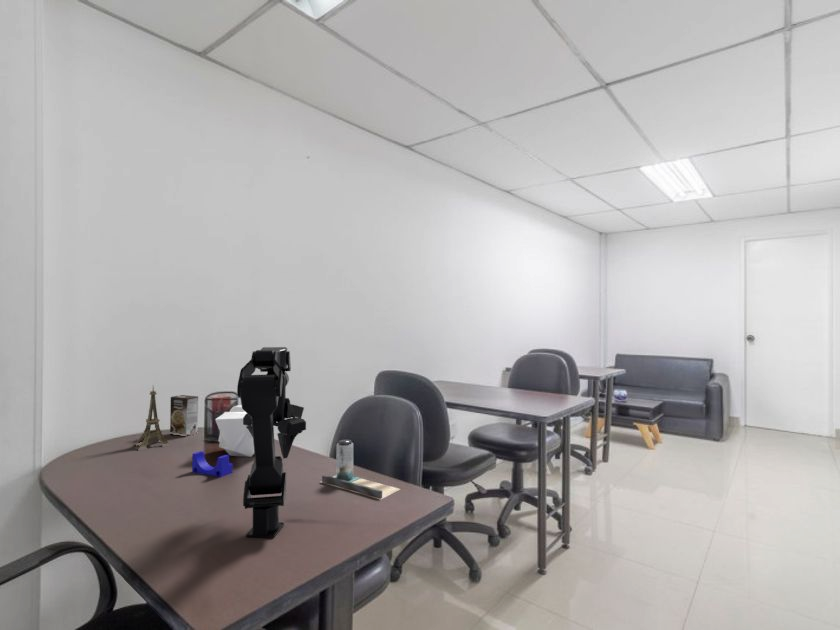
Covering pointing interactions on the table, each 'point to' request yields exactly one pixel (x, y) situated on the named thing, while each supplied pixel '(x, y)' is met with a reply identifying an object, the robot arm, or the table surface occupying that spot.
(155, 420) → the eiffel tower
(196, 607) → the table surface
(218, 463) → the cable clip
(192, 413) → the coffee box
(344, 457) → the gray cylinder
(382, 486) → the rail board
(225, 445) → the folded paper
